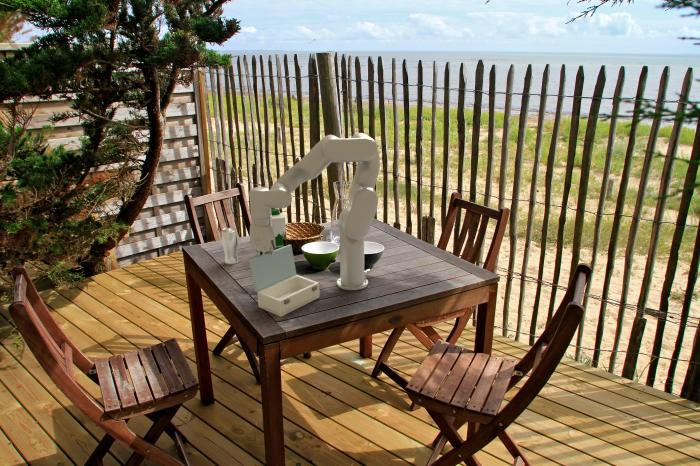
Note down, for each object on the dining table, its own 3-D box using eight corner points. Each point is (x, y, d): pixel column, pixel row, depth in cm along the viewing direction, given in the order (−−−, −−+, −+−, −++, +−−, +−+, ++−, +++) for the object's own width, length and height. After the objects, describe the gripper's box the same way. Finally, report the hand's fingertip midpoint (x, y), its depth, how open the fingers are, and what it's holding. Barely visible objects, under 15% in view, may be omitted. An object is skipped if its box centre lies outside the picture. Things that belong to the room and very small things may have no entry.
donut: (340, 246, 252) (340, 226, 249) (340, 248, 249) (340, 228, 245) (319, 246, 252) (319, 226, 249) (319, 249, 249) (318, 229, 245)
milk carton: (286, 248, 250) (284, 207, 244) (287, 254, 242) (285, 213, 235) (267, 249, 248) (264, 209, 242) (268, 256, 240) (265, 214, 234)
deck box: (297, 288, 207) (296, 274, 205) (321, 297, 199) (320, 283, 197) (258, 306, 193) (257, 291, 191) (282, 317, 185) (281, 302, 183)
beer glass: (237, 264, 231) (235, 232, 226) (222, 264, 231) (219, 232, 226) (241, 259, 238) (238, 227, 233) (225, 259, 238) (223, 227, 233)
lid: (296, 274, 205) (294, 274, 206) (291, 244, 203) (289, 244, 204) (256, 291, 191) (254, 291, 192) (250, 260, 188) (248, 259, 189)
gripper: (240, 219, 197) (244, 264, 203) (267, 227, 187) (270, 274, 193) (256, 214, 202) (259, 258, 208) (282, 222, 193) (285, 268, 199)
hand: (264, 266), depth 201 cm, fingers closed
